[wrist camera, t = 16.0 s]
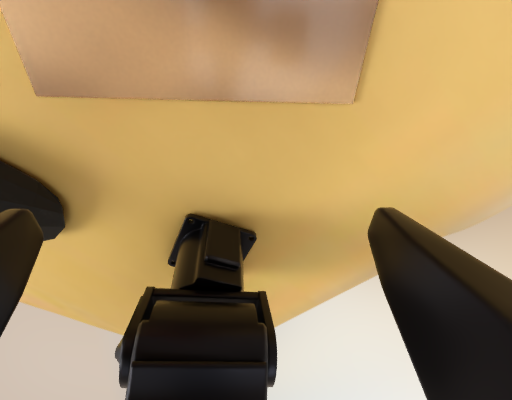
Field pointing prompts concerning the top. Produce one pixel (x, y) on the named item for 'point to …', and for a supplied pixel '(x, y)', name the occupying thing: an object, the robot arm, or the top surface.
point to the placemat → (193, 48)
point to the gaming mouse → (31, 200)
